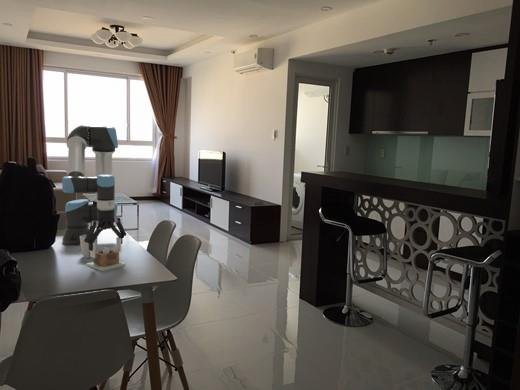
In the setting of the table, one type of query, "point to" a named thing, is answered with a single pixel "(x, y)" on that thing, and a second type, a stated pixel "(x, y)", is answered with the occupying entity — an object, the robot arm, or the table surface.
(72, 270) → the table surface
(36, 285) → the table surface
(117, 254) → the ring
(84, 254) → the cup
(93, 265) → the peg stand
